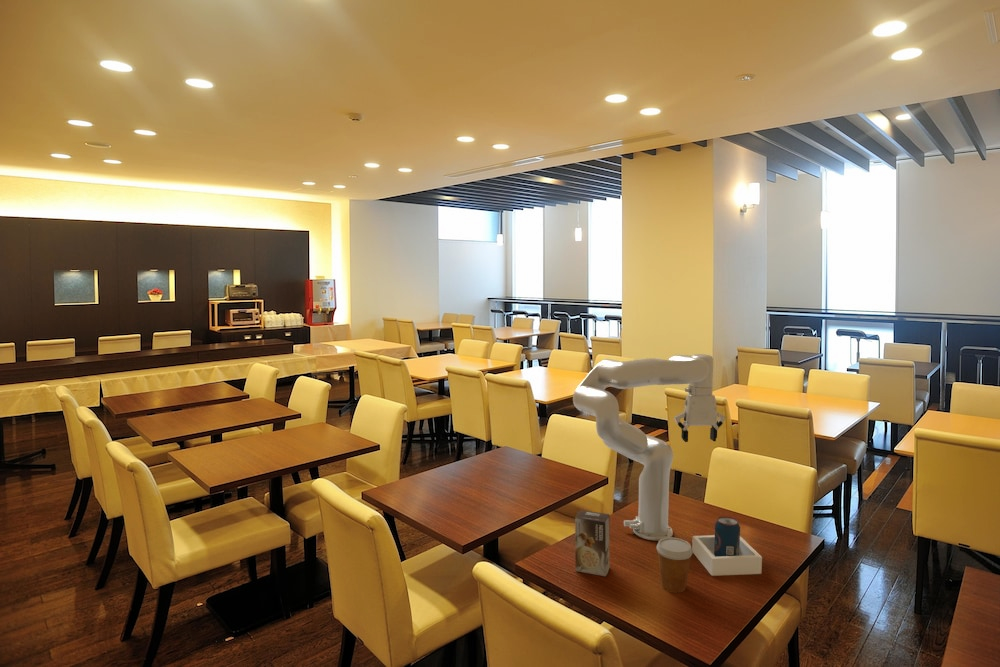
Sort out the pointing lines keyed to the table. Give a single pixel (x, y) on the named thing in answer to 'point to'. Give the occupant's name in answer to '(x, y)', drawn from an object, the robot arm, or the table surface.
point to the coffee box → (592, 542)
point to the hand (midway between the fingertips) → (699, 440)
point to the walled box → (726, 558)
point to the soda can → (727, 537)
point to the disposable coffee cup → (674, 563)
